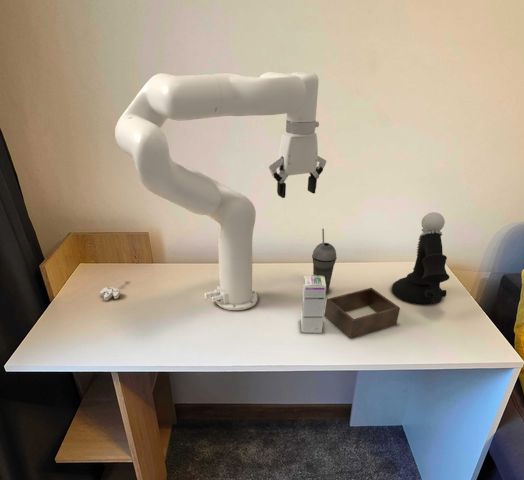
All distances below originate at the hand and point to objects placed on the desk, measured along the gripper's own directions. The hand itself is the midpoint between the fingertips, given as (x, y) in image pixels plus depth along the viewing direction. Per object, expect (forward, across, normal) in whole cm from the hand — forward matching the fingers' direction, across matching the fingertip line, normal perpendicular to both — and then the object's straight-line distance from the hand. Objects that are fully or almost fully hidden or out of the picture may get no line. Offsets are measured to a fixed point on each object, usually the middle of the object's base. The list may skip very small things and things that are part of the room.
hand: (296, 194), depth 128 cm
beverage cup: (+28, -6, +8) cm, 30 cm away
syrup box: (+28, +8, +24) cm, 38 cm away
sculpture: (+28, -31, +26) cm, 49 cm away
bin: (+28, -7, +27) cm, 40 cm away
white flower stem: (+28, +51, -18) cm, 61 cm away
